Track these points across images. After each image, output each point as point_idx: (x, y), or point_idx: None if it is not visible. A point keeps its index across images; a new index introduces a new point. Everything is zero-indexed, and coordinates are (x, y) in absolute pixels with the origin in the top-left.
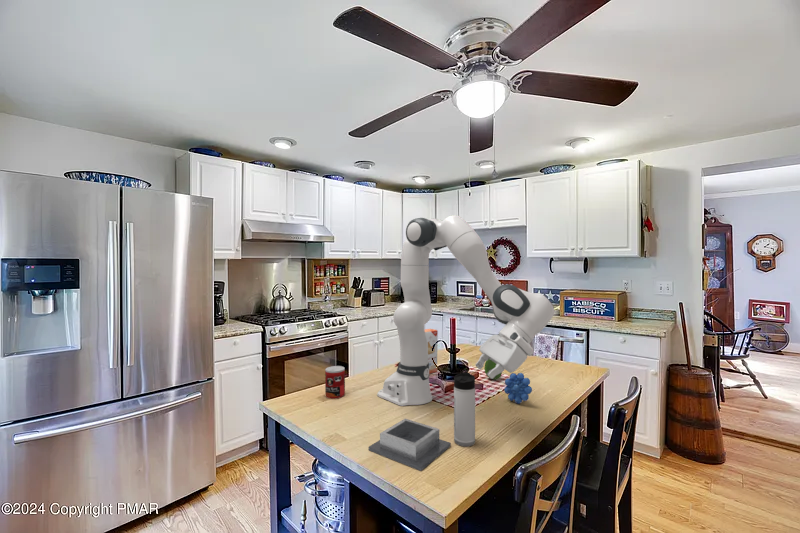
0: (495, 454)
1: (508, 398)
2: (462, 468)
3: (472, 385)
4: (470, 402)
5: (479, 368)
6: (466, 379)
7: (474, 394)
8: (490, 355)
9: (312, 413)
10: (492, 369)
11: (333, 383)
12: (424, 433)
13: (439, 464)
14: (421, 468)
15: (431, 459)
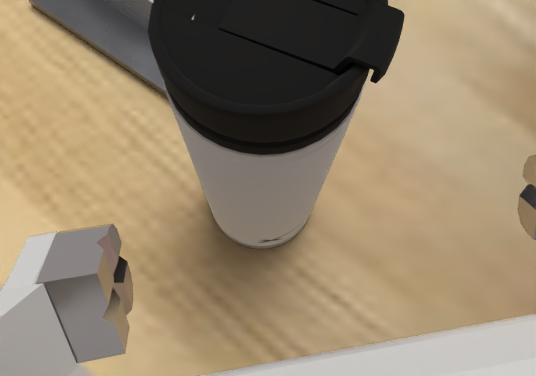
0: (136, 325)
1: None
2: (34, 156)
3: (180, 104)
4: (185, 143)
5: (523, 205)
6: (237, 30)
7: (216, 164)
8: (448, 349)
9: None
10: (11, 299)
11: None
12: None
13: (73, 72)
14: (31, 2)
15: (86, 38)
